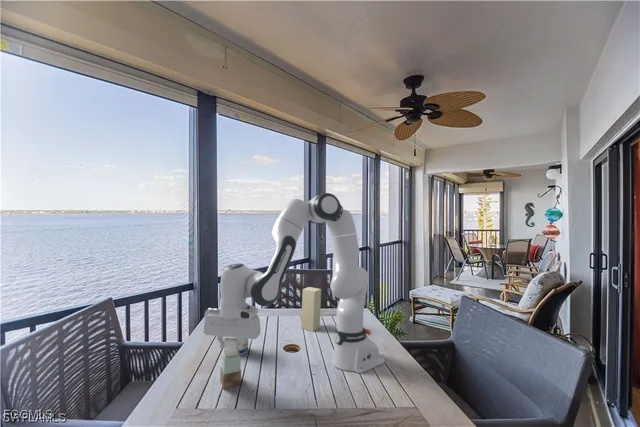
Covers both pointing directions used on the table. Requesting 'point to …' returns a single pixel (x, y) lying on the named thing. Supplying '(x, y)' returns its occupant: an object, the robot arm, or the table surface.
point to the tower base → (230, 379)
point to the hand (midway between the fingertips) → (231, 348)
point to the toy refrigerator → (311, 308)
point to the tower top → (231, 363)
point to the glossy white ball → (231, 346)
